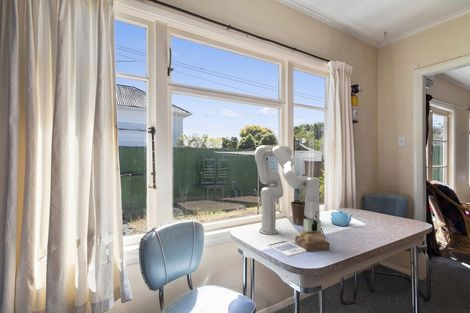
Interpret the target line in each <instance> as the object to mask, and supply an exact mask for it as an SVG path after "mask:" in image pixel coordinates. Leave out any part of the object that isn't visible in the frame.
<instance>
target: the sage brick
mask: <svg viewBox="0 0 470 313" xmlns="http://www.w3.org/2000/svg"><path fill="white" fill-rule="evenodd" d="M314 221H315V220H314ZM321 223H322V220H320V221H319V222H318V224H317V231H321V232H322V230H321V228H322V227H321V226H322V224H321ZM312 224H313V223H312V219H304V228H303V230H306V231H308V232H312Z"/></svg>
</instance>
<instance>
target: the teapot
mask: <svg viewBox="0 0 470 313" xmlns="http://www.w3.org/2000/svg"><path fill="white" fill-rule="evenodd" d="M330 215H331V217H330V222H331V223H332V225H334V224H335V225H336V226H338V225H339V226H338V227H346V226H345V225H347V226H349V225H350V223H351V221H352V216H353V215H354V214H353V213H350V214H348V213H347V212H345V211H343V210H338V211H332V212H331V213H330Z"/></svg>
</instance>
